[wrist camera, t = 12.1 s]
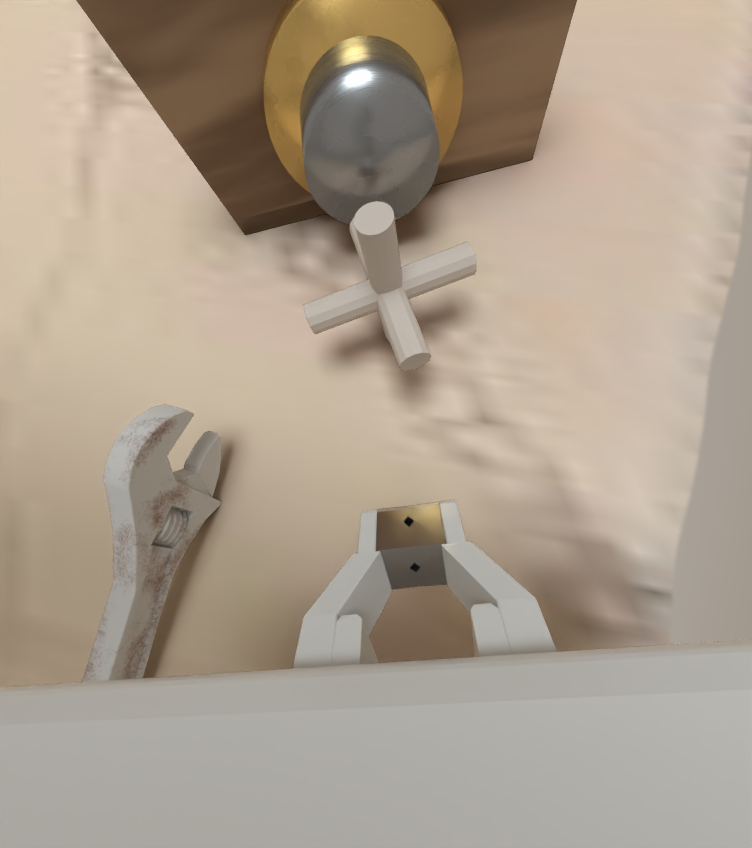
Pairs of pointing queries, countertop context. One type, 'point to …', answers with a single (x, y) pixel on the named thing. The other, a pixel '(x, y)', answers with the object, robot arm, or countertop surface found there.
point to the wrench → (149, 532)
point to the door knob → (362, 99)
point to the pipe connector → (390, 284)
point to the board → (244, 99)
